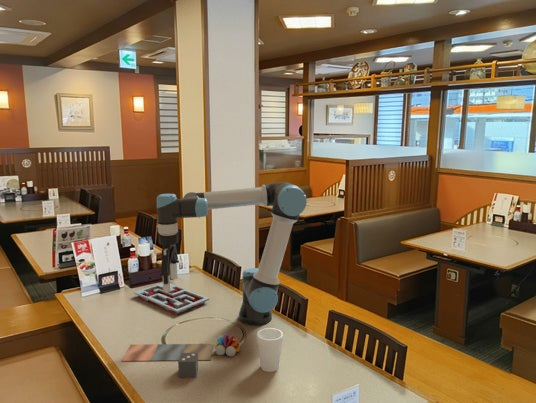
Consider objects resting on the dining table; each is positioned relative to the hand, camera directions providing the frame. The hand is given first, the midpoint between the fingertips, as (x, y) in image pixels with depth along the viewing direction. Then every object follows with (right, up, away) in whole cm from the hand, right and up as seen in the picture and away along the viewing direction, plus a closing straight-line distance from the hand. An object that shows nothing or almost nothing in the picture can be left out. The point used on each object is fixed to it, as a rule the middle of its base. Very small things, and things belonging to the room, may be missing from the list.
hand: (170, 284), depth 173 cm
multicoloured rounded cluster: (+23, -25, -5) cm, 35 cm away
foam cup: (+40, -27, -15) cm, 51 cm away
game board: (+1, -25, -6) cm, 26 cm away
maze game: (-10, -17, +44) cm, 48 cm away
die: (+11, -27, -19) cm, 35 cm away
